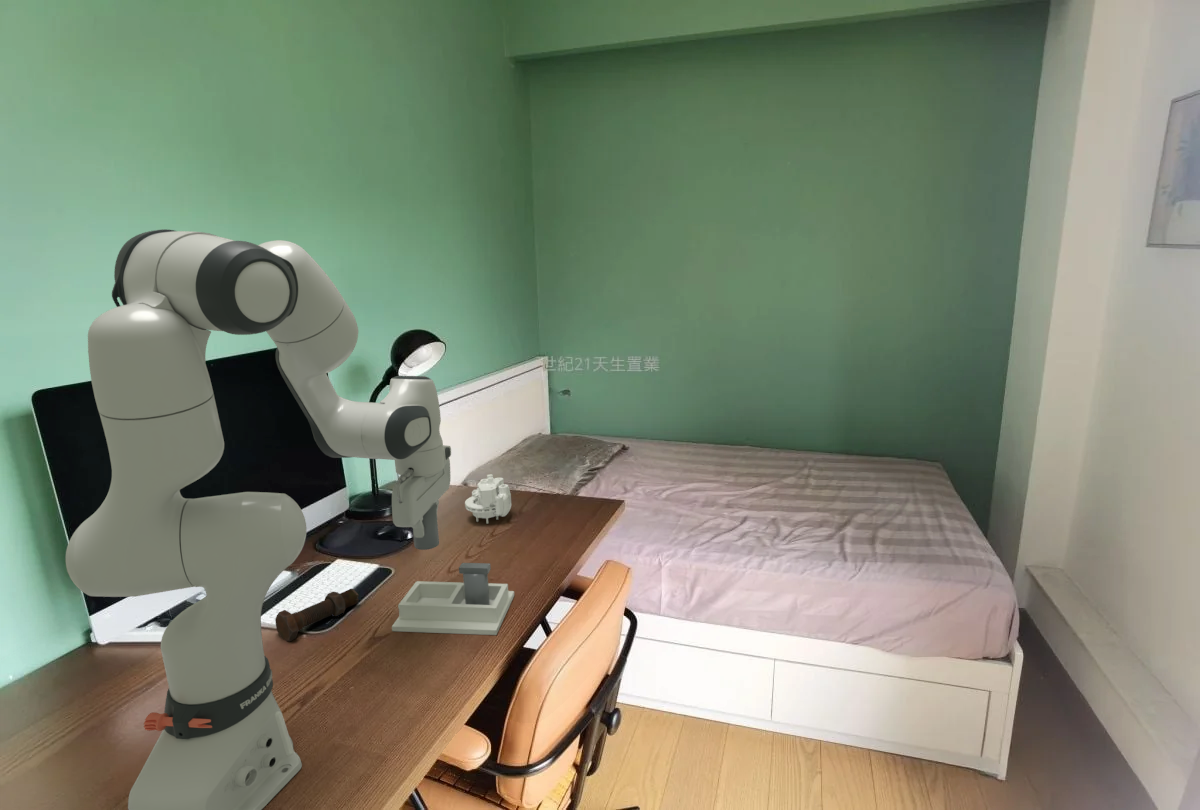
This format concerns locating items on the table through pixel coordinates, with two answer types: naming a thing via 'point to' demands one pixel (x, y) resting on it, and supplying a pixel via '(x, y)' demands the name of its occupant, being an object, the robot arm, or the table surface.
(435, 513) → the grey upright cylinder
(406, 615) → the housing
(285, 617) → the bolt
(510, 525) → the table surface
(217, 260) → the robot arm
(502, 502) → the mechanical part
